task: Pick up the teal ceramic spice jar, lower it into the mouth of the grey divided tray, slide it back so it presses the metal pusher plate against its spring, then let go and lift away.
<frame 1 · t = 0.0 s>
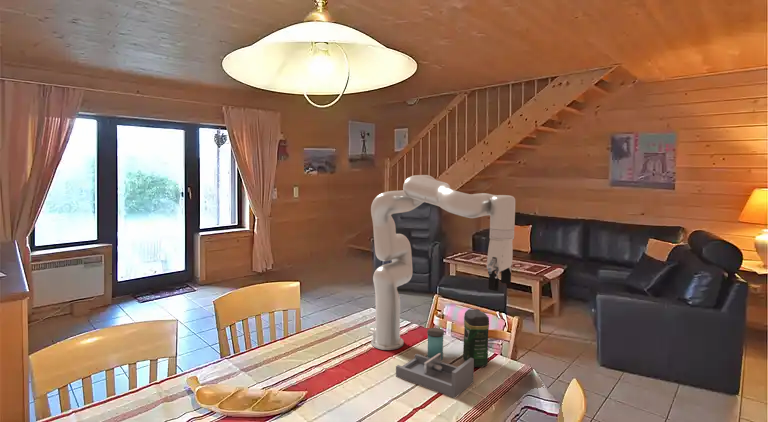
hand: (499, 286, 142), 31 cm above the table, tool pointing down, fingers open, 9 cm apart
grey divided tray: (434, 379, 145), on the table
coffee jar: (475, 362, 158), on the table
spice jar: (435, 357, 161), on the table
pusher plate: (436, 367, 144), point 4 cm above the table, slide at 0.0 cm
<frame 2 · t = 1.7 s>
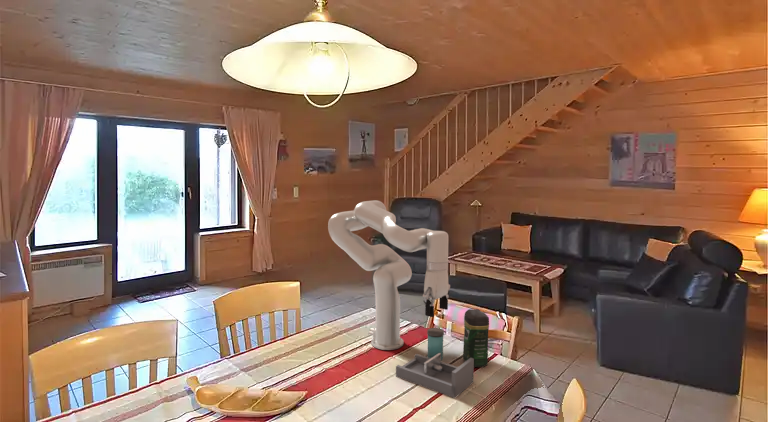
hand: (436, 312, 159), 17 cm above the table, tool pointing down, fingers open, 9 cm apart
nothing on the table moved.
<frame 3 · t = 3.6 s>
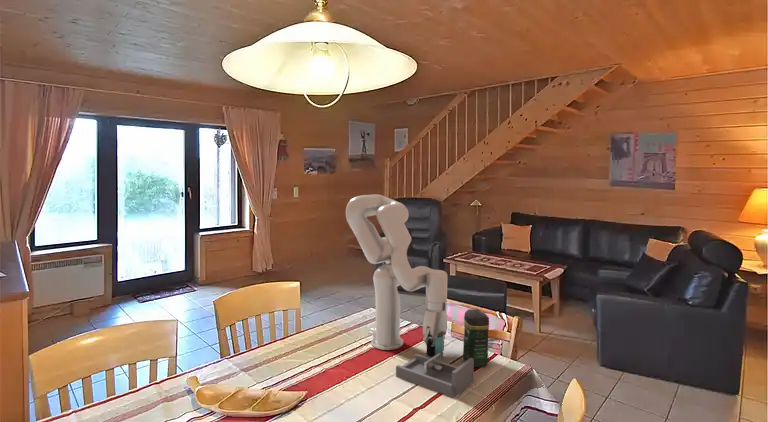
hand: (435, 352, 160), 2 cm above the table, tool pointing down, fingers closed on spice jar, 5 cm apart
spice jar: (435, 357, 161), on the table, touching gripper
everything else where it was.
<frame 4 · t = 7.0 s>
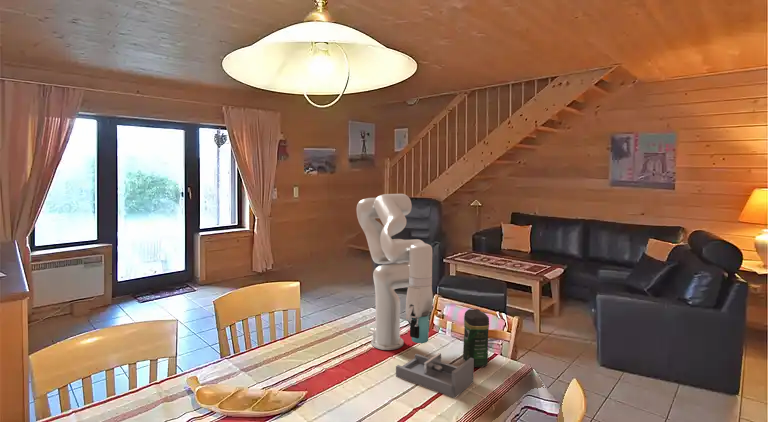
hand: (419, 333, 147), 14 cm above the table, tool pointing down, fingers closed on spice jar, 5 cm apart
spice jar: (419, 339, 147), point 12 cm above the table, touching gripper
everything else where it was.
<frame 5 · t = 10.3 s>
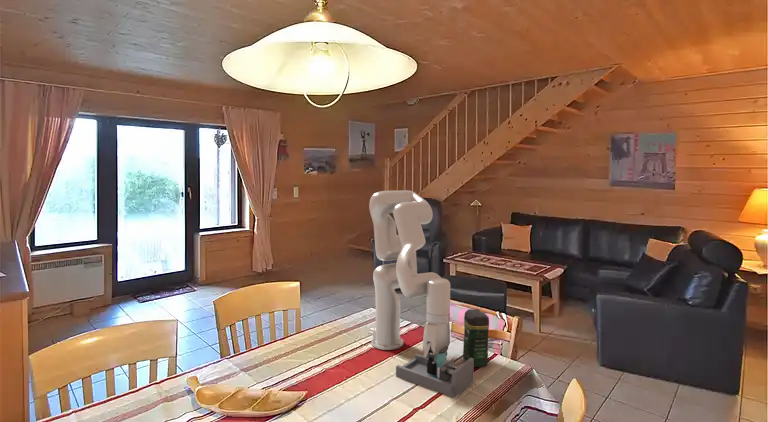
hand: (436, 369, 144), 3 cm above the table, tool pointing down, fingers closed on spice jar, 5 cm apart
spice jar: (436, 376, 144), point 1 cm above the table, touching gripper, pusher plate
pusher plate: (449, 372, 141), point 4 cm above the table, slide at 4.8 cm, touching spice jar
everything else where it was.
when the fingers open (3 cm above the table, at t = 10.6 s): spice jar stays where it is, resting on grey divided tray.
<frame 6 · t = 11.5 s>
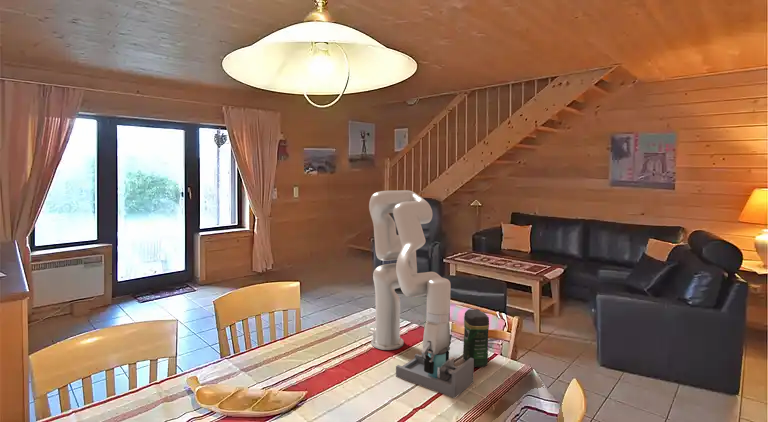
hand: (436, 366, 144), 4 cm above the table, tool pointing down, fingers open, 9 cm apart
spice jar: (436, 377, 144), point 1 cm above the table, touching grey divided tray
pusher plate: (449, 372, 141), point 4 cm above the table, slide at 4.9 cm
everything else where it was.
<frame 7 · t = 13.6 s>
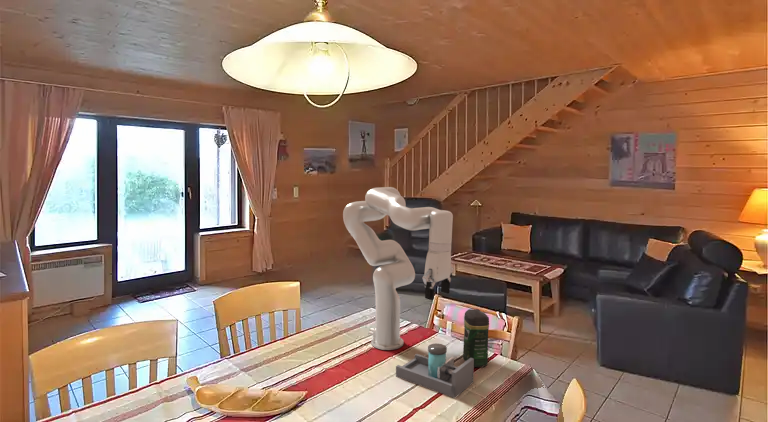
hand: (437, 295, 151), 25 cm above the table, tool pointing down, fingers open, 9 cm apart
nothing on the table moved.
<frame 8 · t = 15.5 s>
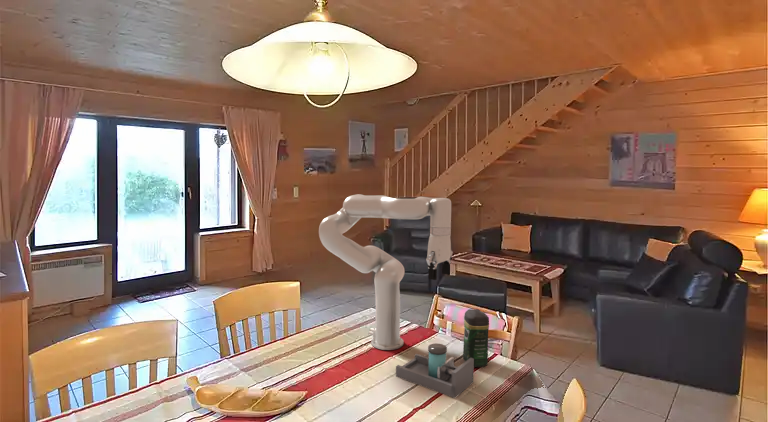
hand: (439, 276, 165), 28 cm above the table, tool pointing down, fingers open, 9 cm apart
nothing on the table moved.
at the end: spice jar inside the target area on the grey divided tray (1.5 cm from its centre), point 1.0 cm above the grey divided tray's base; spice jar tilted 0°; the gripper is holding nothing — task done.
